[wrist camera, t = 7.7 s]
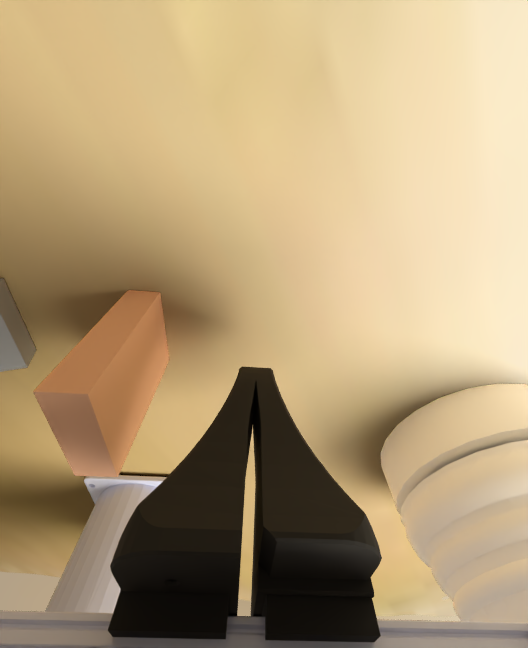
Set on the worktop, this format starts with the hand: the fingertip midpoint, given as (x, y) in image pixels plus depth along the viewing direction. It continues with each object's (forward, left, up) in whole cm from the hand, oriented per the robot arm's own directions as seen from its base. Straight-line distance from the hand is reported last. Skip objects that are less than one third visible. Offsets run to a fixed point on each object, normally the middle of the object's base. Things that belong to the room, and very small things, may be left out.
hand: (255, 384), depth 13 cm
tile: (0, +6, -4) cm, 7 cm away
